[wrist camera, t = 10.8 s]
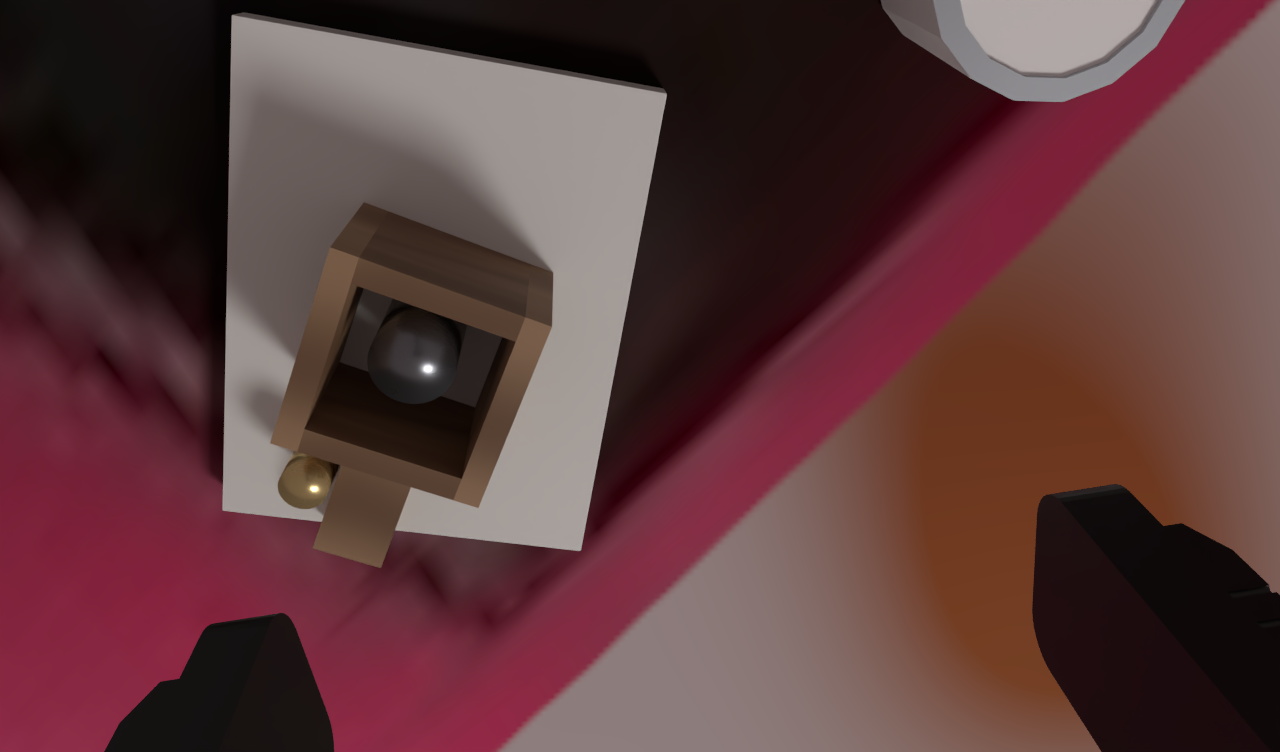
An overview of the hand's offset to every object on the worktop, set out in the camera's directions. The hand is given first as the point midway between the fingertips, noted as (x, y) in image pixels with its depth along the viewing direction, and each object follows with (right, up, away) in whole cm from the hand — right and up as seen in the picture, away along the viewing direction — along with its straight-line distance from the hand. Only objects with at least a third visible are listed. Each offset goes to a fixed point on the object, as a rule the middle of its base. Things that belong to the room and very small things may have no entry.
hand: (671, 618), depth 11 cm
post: (-7, +5, +22) cm, 24 cm away
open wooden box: (-8, +2, +23) cm, 25 cm away
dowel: (-12, 0, +24) cm, 27 cm away
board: (-7, +5, +23) cm, 25 cm away
